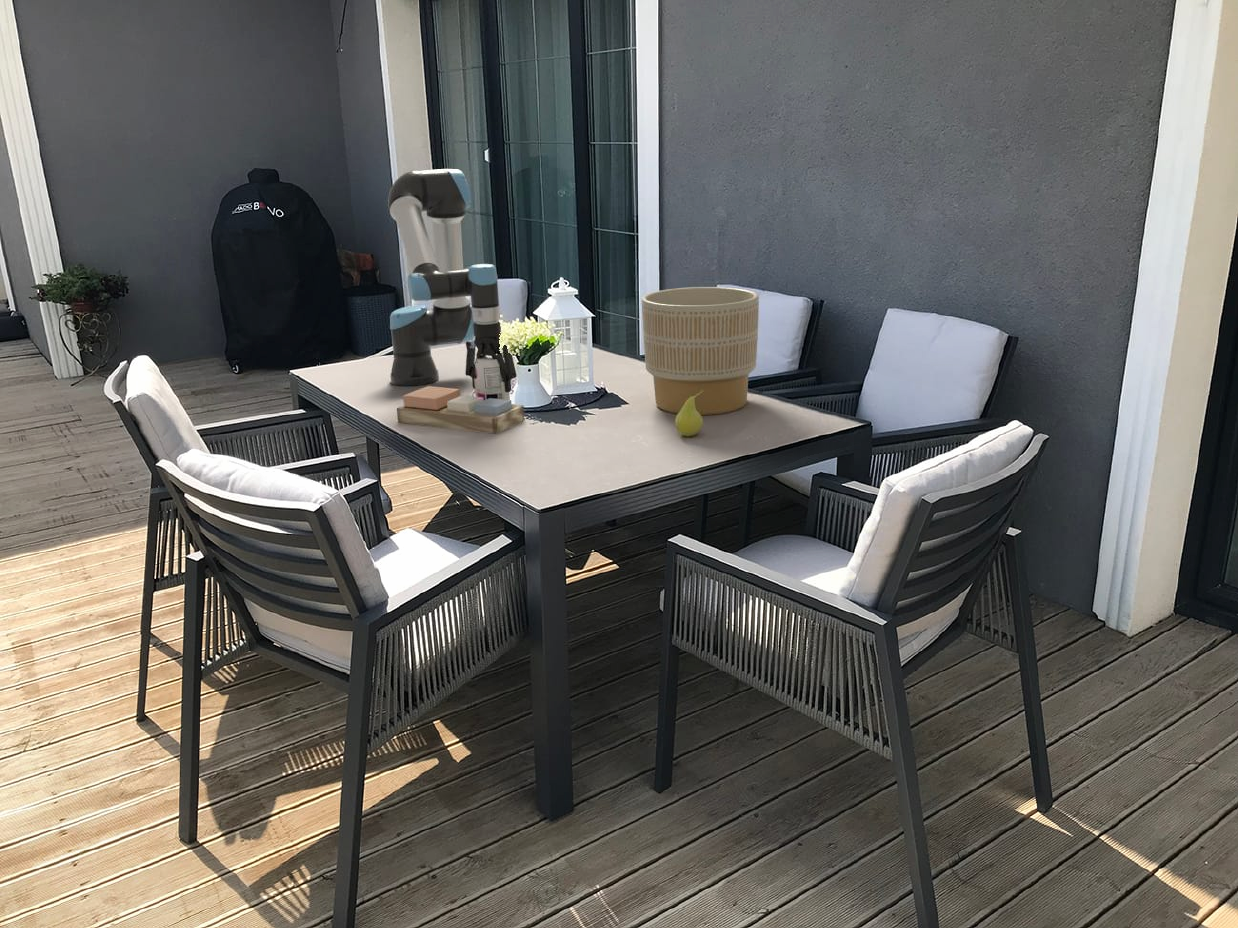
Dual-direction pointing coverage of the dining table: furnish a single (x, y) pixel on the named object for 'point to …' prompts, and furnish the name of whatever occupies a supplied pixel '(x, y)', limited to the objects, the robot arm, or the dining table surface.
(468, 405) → the key ivory
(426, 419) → the wooden compartment tray
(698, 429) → the fruit
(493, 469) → the dining table surface
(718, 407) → the planter
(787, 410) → the dining table surface
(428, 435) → the dining table surface
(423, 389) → the key terracotta
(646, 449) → the dining table surface
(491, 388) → the supplement can
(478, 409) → the key slate
